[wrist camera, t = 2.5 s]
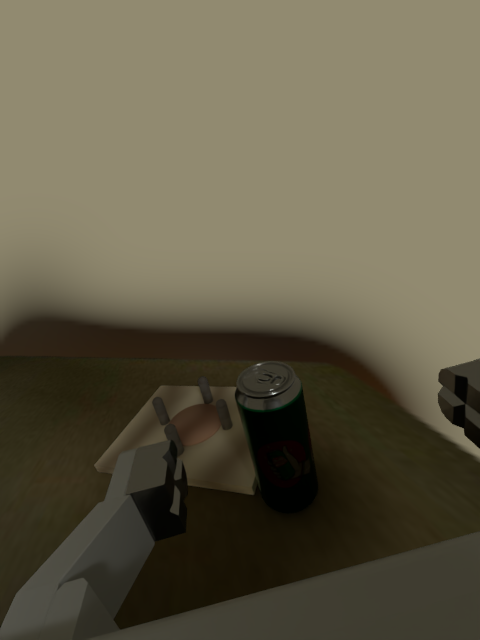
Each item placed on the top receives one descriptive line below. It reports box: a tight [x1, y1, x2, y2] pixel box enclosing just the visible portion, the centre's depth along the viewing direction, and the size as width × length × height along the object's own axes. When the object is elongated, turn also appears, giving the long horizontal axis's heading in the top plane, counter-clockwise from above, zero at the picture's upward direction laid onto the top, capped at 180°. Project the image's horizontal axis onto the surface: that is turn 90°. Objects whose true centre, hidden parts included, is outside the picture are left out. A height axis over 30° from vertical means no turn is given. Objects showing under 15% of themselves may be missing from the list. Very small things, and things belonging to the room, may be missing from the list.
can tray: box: [94, 376, 258, 495], centre depth 36 cm, size 18×14×5 cm
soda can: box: [235, 361, 318, 513], centre depth 26 cm, size 5×5×12 cm
